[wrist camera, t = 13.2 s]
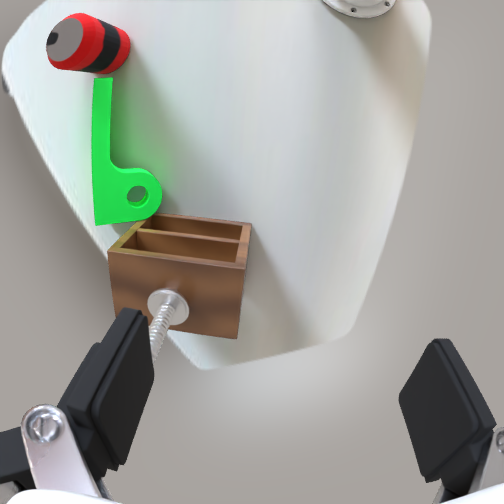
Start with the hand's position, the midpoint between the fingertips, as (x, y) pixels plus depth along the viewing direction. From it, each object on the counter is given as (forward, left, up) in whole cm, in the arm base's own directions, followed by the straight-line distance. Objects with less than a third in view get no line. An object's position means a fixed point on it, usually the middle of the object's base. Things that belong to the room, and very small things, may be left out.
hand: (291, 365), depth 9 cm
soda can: (-16, -26, -36) cm, 48 cm away
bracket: (-1, -21, -36) cm, 42 cm away
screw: (+14, -10, -22) cm, 28 cm away
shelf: (+14, -10, -36) cm, 40 cm away
